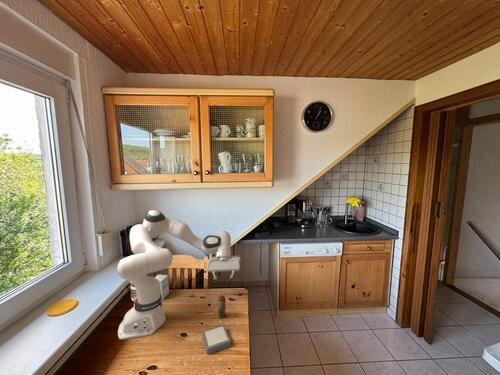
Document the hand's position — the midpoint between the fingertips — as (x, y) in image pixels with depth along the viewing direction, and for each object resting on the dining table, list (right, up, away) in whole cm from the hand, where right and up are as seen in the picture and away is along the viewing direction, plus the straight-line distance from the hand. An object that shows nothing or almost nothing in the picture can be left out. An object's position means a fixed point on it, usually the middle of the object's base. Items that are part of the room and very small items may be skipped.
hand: (223, 278), depth 129 cm
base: (0, -19, -26) cm, 32 cm away
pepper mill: (+1, -17, -9) cm, 19 cm away
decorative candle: (-55, -15, +9) cm, 57 cm away
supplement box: (-41, -15, +9) cm, 44 cm away
